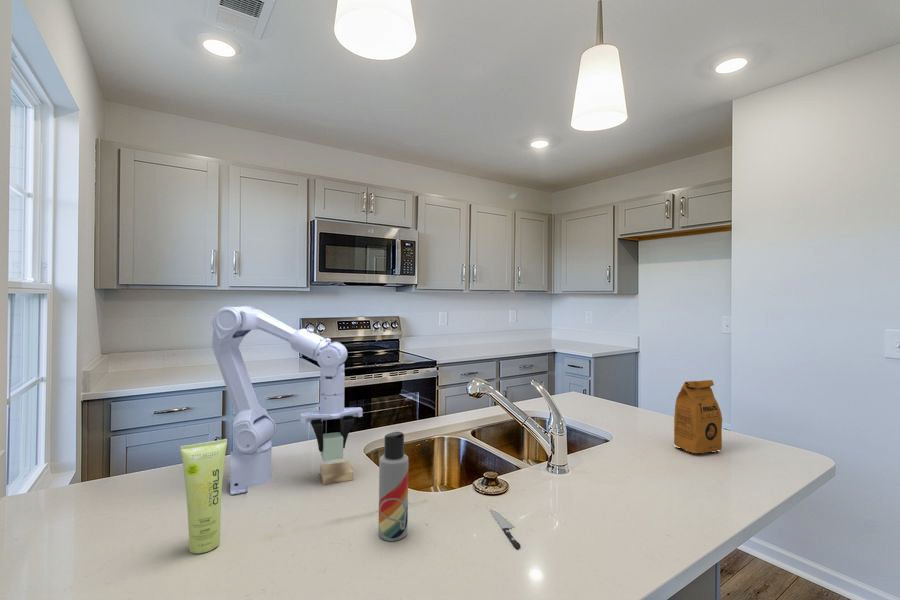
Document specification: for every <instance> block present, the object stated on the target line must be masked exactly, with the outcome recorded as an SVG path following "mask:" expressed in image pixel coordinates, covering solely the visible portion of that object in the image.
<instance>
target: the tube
mask: <svg viewBox="0 0 900 600" xmlns="http://www.w3.org/2000/svg"><path fill="white" fill-rule="evenodd" d="M227 445H228V438H224V439H220V440H213V441H212V440H211V441H206V442H199V443H194V444H188V445H187V444H186V445H181V446H179V451H180V454H181V459H182V467H183V468H182V469H183V473H184V476H183V477H184V482H185V496H186V509H187V510H186V511H187V525H188V526H187V528H188V547H189V549H188V550H189V551H190V553H192V554H203V553H208V552H210V551H212V550H214V549H216V548H217V547H218V546H219V544H220V542H221V517H222V515H221V513H222V495H223V494H222V493H223V492H222V491H223V480H224V479H223V478H224V469H225V459H226V451H227Z"/></svg>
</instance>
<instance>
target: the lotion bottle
mask: <svg viewBox="0 0 900 600" xmlns="http://www.w3.org/2000/svg"><path fill="white" fill-rule="evenodd" d="M383 444H384V449H383V450H384V451H383V453H384V454H382V455H381V456H380V457H379V461H378V462H379V464H378V465H379V467H378V474H379V476H378V536H379V537H380V538H381V540H384V541H387V542H397V541H399V540H400V541H401V540H402V539H404V538H405V537H406V536H407V535H408V534H407V533H408V524H409V523H408V516H409V513H408V512H409V456H408V455H407V454H405V434H404V433H403V432H402V431H393V432H390V433H387V434H385V435H384V443H383Z"/></svg>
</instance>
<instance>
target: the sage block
mask: <svg viewBox="0 0 900 600" xmlns="http://www.w3.org/2000/svg"><path fill="white" fill-rule="evenodd" d="M320 456H321V459H322V461H323V462H326V461H334V460H342V459H343V458H344V448H343V436H342V435H341V431H339V432H337V431H336V432H329V433H323V452H320Z"/></svg>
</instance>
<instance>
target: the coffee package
mask: <svg viewBox="0 0 900 600" xmlns="http://www.w3.org/2000/svg"><path fill="white" fill-rule="evenodd" d="M714 385H715V383H714V381H713V380H712V379H709V380H706V379H705V380H691V381H684V383H683V384H682V386H681V388H680V391H679V392H678V394H677V396H676V399H675V406H674V416H673V417H674V419H673V423H674V424H673V425H674V426H673V427H674V428H673V431H674V432H673V433H674V437H673V438H674V439H673V445H674V444H675V445H676V446H678V447H680V448H682V449H684V450H683V451H685V450H687V451H689V452H692V453H691V454H693V453H701V454H705V453H704V452H712V451H717V450H720V451H722V448H723V440H722V439H723V438H722V437H723V436H722V435H723V434H722V429H723V417H722V411H721V408H720V405H719V403H718V401H717V399H716V397H715V395H714V392H713V389H712V388H711V387H713V386H714ZM687 451H686V452H687ZM689 452H688V453H689Z"/></svg>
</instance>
